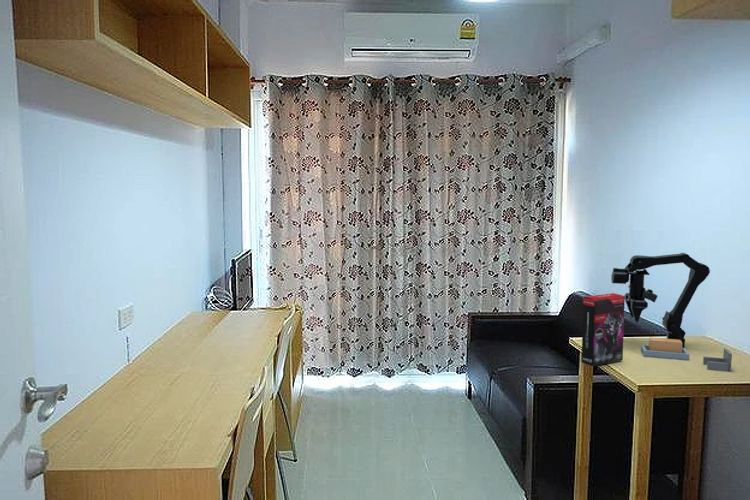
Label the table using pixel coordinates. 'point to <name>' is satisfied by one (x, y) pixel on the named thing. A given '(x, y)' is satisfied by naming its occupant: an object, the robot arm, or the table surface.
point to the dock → (719, 362)
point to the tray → (664, 354)
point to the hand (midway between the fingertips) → (634, 319)
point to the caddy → (665, 345)
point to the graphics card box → (602, 329)
